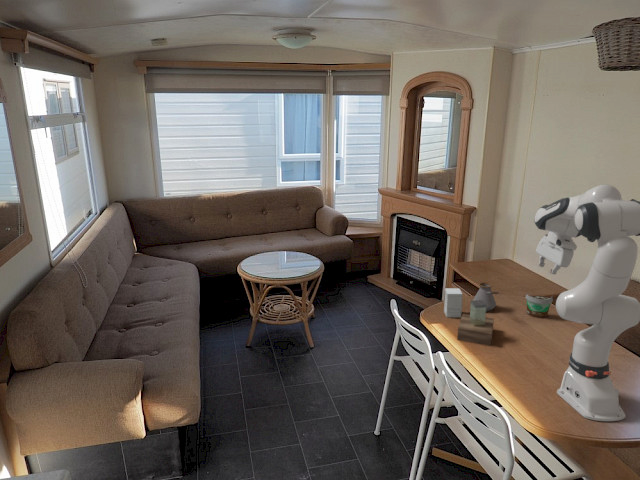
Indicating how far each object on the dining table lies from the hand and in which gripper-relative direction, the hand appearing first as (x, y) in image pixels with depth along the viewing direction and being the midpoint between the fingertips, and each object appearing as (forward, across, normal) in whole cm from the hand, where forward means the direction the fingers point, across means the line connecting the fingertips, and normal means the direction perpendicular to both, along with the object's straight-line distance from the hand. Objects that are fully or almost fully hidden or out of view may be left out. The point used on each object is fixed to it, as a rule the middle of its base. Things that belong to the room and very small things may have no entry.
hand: (546, 270), depth 198 cm
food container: (+28, -22, +19) cm, 41 cm away
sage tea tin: (+32, -6, -18) cm, 38 cm away
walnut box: (+38, -6, -17) cm, 42 cm away
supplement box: (+39, -28, -20) cm, 52 cm away
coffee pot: (+34, -29, -3) cm, 45 cm away
